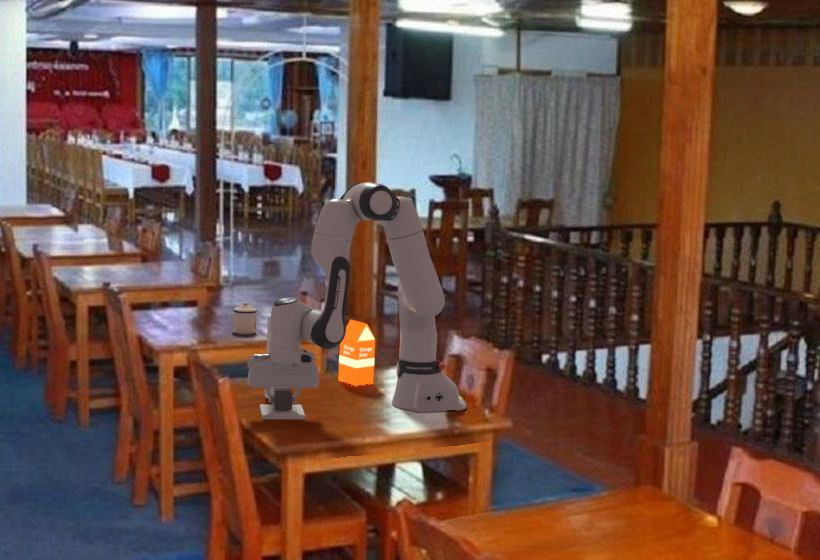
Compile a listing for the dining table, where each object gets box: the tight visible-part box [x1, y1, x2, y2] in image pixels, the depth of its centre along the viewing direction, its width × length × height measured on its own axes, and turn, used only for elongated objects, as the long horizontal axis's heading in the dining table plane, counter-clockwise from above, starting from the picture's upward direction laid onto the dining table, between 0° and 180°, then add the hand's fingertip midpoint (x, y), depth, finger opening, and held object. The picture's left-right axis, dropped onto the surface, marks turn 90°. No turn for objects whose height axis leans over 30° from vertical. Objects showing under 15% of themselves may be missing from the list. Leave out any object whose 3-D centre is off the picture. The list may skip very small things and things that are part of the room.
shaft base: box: [259, 403, 306, 420], centre depth 345 cm, size 12×12×5 cm
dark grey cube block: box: [272, 387, 293, 410], centre depth 345 cm, size 5×5×5 cm
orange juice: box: [337, 319, 376, 387], centre depth 388 cm, size 8×9×20 cm
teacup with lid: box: [232, 301, 258, 335], centre depth 463 cm, size 12×9×12 cm
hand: (282, 402), depth 345 cm, fingers closed on dark grey cube block, 5 cm apart
